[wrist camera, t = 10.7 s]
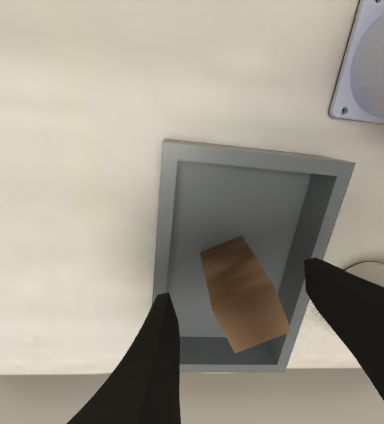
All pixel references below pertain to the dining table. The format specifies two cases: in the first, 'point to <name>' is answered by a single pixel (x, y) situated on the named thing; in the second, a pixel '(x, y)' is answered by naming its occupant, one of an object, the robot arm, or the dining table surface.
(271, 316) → the block
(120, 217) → the dining table surface
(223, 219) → the bin
